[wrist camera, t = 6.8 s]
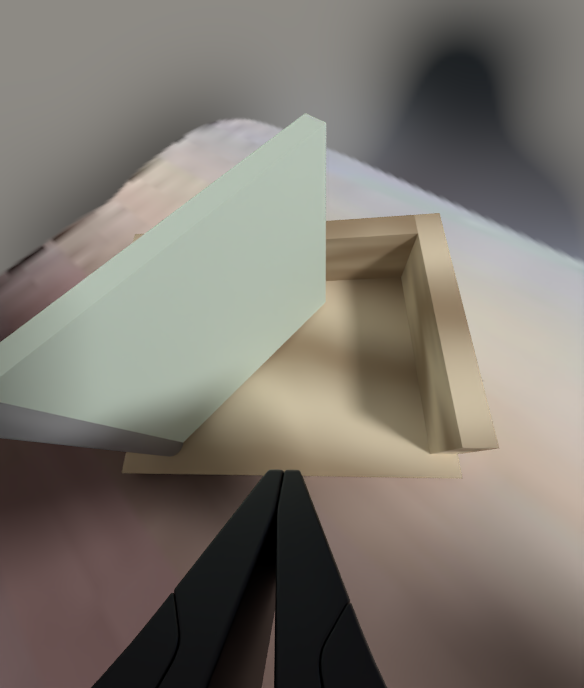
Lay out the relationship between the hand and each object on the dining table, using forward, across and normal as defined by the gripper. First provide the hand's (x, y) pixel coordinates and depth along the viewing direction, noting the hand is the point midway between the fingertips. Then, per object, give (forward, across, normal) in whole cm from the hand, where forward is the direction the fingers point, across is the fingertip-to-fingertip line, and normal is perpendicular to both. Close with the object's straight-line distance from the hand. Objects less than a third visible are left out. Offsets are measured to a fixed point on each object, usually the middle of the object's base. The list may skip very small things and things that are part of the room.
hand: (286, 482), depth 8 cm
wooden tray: (+10, +1, +1) cm, 10 cm away
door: (+8, +3, 0) cm, 9 cm away
